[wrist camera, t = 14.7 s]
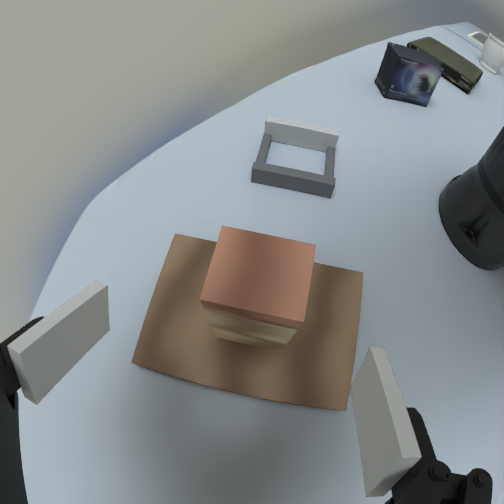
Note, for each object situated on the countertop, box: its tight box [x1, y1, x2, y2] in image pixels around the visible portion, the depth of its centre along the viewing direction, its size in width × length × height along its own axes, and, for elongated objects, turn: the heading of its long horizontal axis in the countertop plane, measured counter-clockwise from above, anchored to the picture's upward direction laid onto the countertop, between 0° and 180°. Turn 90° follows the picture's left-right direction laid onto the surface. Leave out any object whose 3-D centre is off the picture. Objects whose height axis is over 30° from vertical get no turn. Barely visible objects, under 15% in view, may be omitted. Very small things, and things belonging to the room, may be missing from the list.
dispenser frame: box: [251, 116, 339, 198], centre depth 38 cm, size 10×9×4 cm
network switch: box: [407, 37, 483, 94], centre depth 61 cm, size 23×23×5 cm
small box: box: [375, 42, 444, 107], centre depth 46 cm, size 11×6×10 cm, turn 91°
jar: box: [480, 33, 504, 74], centre depth 66 cm, size 11×10×15 cm
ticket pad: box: [200, 226, 316, 352], centre depth 23 cm, size 6×5×11 cm
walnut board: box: [132, 234, 363, 411], centre depth 29 cm, size 20×14×2 cm
